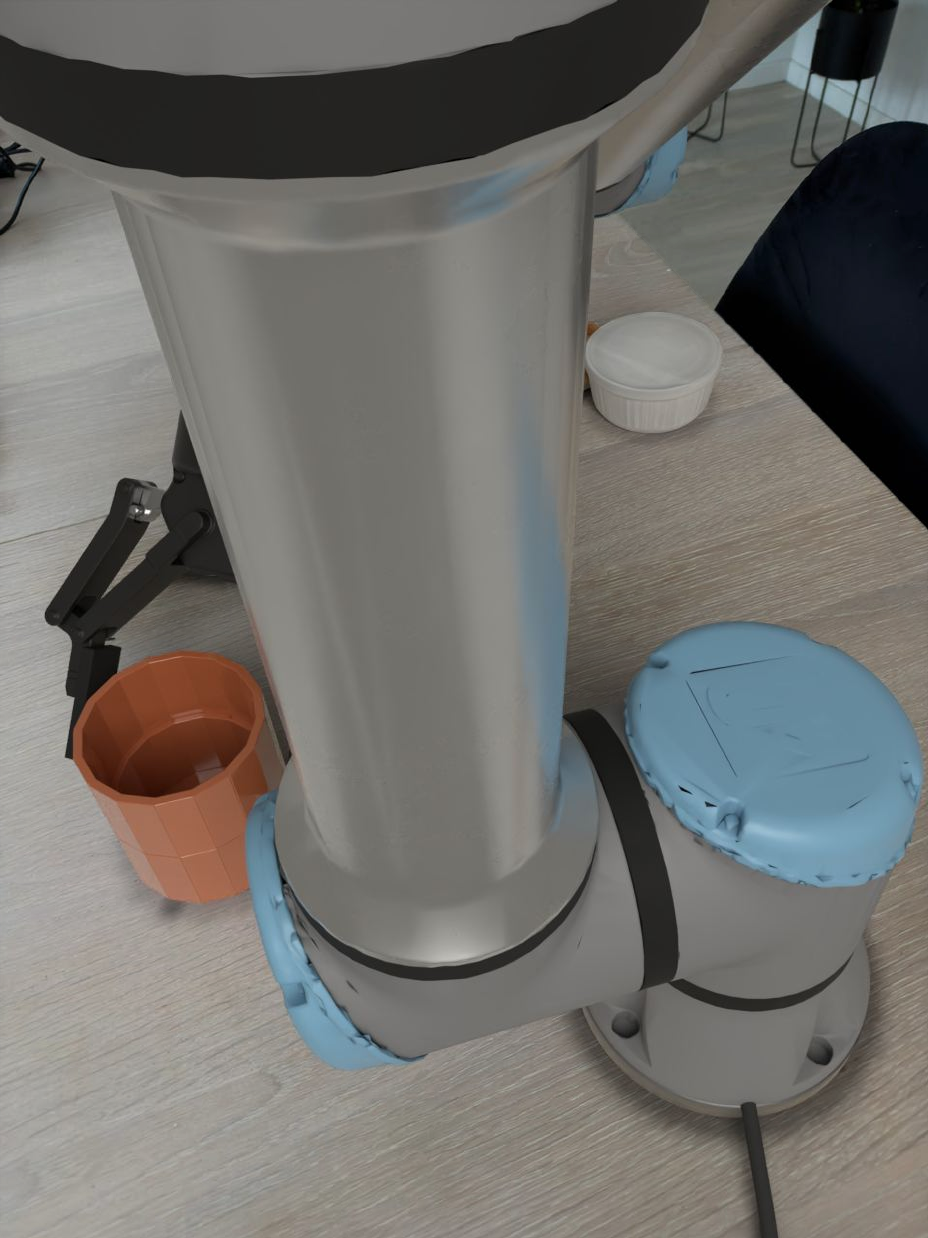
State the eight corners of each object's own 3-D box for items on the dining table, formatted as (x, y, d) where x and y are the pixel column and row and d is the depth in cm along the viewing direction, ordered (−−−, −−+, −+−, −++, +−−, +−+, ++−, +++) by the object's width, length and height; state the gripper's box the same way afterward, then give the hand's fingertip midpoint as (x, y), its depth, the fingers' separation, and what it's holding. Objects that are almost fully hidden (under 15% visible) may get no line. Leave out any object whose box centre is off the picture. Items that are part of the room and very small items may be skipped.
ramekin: (578, 440, 90) (579, 387, 86) (587, 361, 97) (588, 308, 93) (717, 446, 88) (724, 392, 84) (715, 365, 95) (722, 312, 92)
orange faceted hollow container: (272, 917, 63) (230, 814, 55) (106, 896, 64) (41, 793, 56) (317, 769, 69) (285, 658, 61) (165, 754, 71) (114, 643, 63)
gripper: (483, 459, 60) (411, 827, 62) (99, 389, 67) (44, 724, 69) (443, 442, 53) (362, 859, 55) (17, 366, 60) (-42, 741, 62)
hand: (185, 785), depth 62 cm, fingers open, 13 cm apart
